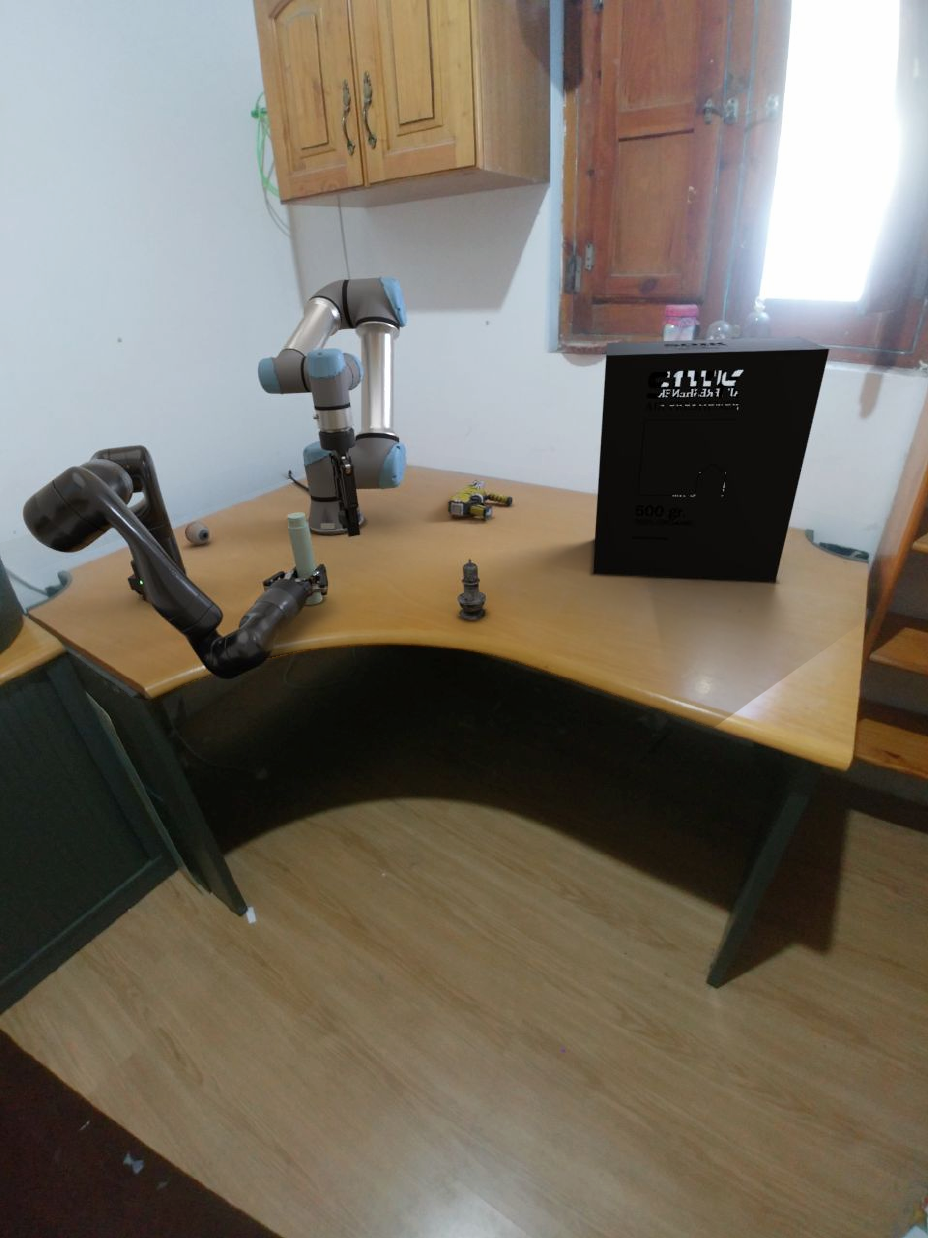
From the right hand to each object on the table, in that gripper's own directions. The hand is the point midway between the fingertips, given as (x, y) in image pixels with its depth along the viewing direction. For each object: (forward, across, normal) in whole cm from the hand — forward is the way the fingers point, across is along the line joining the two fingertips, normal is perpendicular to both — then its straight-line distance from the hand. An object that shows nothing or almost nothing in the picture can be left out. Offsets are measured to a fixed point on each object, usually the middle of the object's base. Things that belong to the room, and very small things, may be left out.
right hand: (351, 531), depth 140 cm
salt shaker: (+9, +34, +15) cm, 38 cm away
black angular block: (+9, +33, +67) cm, 76 cm away
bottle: (+9, +12, -13) cm, 20 cm away
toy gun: (+9, -22, +44) cm, 50 cm away
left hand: (+3, +10, -11) cm, 15 cm away
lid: (-4, 0, 0) cm, 4 cm away
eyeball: (+9, -36, -34) cm, 50 cm away
